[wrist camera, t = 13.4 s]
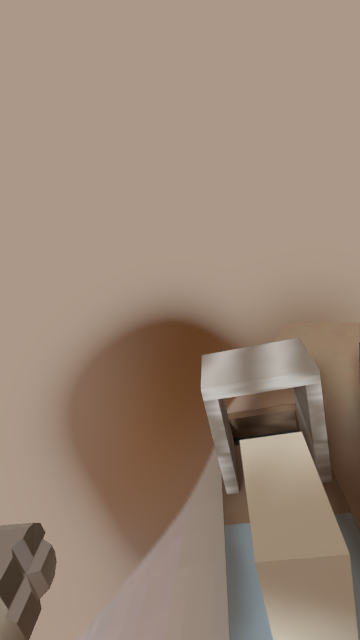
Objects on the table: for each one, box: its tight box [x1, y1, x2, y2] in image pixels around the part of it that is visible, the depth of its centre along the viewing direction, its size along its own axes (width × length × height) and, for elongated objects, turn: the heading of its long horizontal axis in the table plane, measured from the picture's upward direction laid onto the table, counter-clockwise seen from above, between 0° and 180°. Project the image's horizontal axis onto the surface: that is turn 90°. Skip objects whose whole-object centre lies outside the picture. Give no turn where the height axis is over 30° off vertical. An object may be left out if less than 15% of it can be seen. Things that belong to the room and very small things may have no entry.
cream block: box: [239, 432, 359, 640], centre depth 30 cm, size 6×12×10 cm, turn 177°
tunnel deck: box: [201, 338, 360, 640], centre depth 38 cm, size 13×32×18 cm, turn 177°
